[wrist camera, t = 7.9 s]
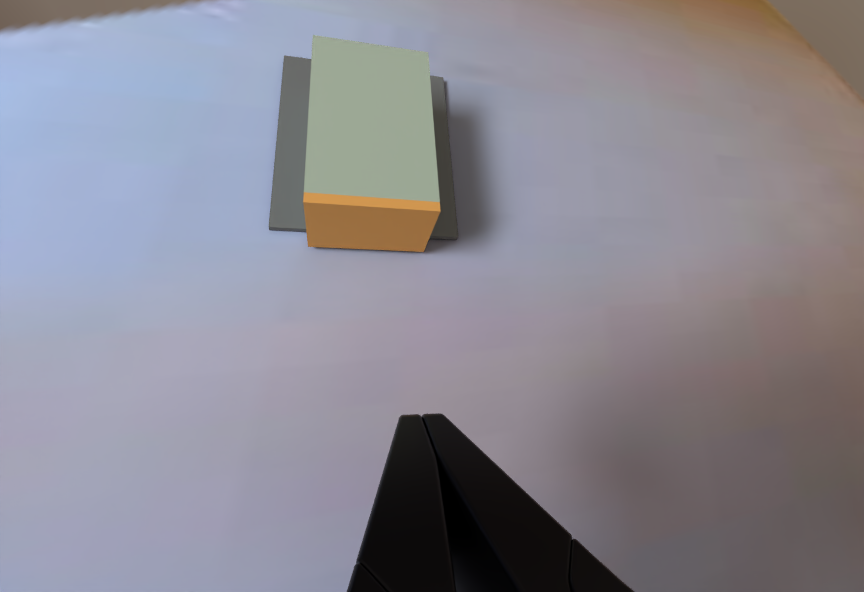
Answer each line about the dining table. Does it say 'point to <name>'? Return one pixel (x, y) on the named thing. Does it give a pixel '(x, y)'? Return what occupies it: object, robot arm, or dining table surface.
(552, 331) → the dining table surface
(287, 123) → the mat
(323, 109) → the block
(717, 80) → the dining table surface
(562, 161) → the dining table surface
